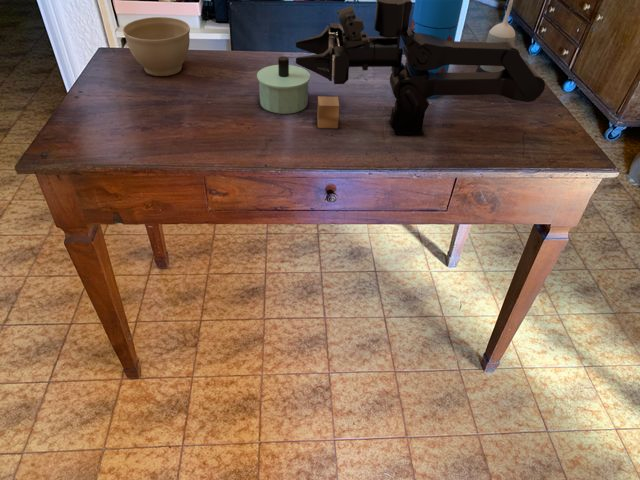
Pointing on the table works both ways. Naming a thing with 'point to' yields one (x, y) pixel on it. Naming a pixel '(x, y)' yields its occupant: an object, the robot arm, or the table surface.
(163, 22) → the planter bowl
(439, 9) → the thermos
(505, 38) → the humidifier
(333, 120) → the block
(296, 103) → the tin
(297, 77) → the lid
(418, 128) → the robot arm
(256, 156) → the table surface
